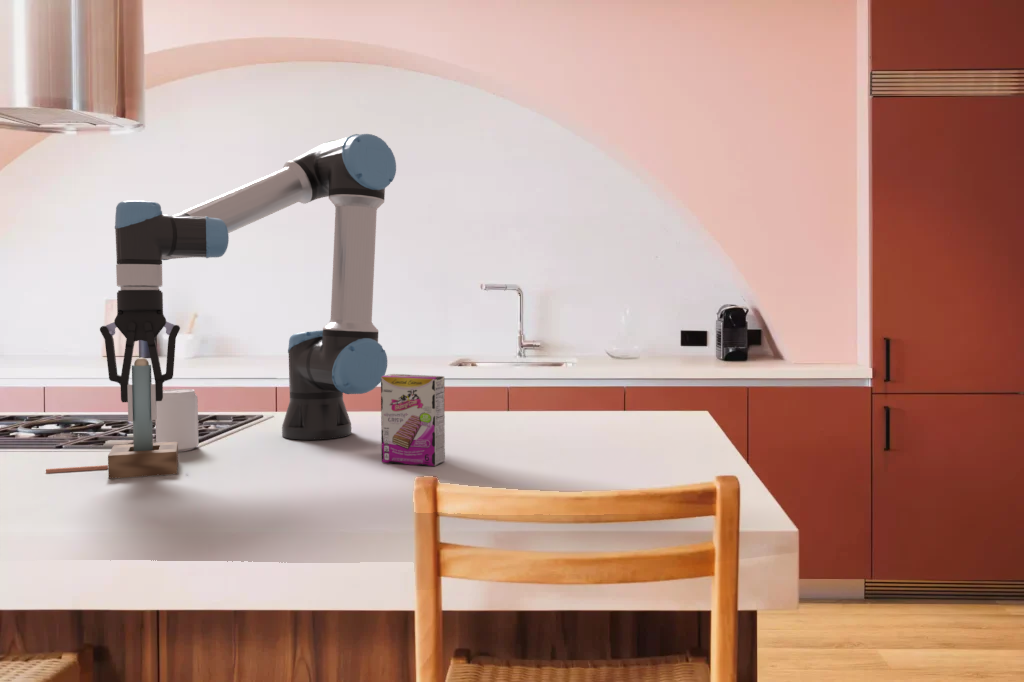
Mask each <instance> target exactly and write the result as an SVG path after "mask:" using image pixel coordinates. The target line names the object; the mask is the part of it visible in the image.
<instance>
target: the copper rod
mask: <svg viewBox="0 0 1024 682" xmlns="http://www.w3.org/2000/svg"><path fill="white" fill-rule="evenodd" d="M98 470H99V471H101V470H108V464H104V465H88V466H71V467H69V466H68V467H57V468H56V467H54V468H46V470H45V474H52V473H53V474H54V473H67V472H69V473H70V472H82V471H98Z"/></svg>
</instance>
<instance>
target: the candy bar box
mask: <svg viewBox="0 0 1024 682" xmlns="http://www.w3.org/2000/svg"><path fill="white" fill-rule="evenodd" d="M445 386H446V385H445V376H442V375H425V374H424V375H423V374H421V375H420V374H406V373H405V374H403V373H390V374H385V375H384V376H382V377H381V382H380V405H381V406H380V407H381V408H380V414H381V415H380V418H381V421H380V422H381V428H380V429H381V431H380V433H381V437H380V438H381V439H380V441H381V463H384V464H399V465H410V466H411V465H413V466H425V467H436V466H439V465H441V464H443V463H445V461H446V455H445V454H446V452H445V451H446V448H445V446H446V445H445V444H446V443H445V440H446V439H445V438H446V437H445V436H446V435H445V433H446V431H445V425H446V424H445V417H446V416H445V390H446V389H445Z"/></svg>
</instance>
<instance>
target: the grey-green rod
mask: <svg viewBox="0 0 1024 682" xmlns="http://www.w3.org/2000/svg"><path fill="white" fill-rule="evenodd" d="M133 363H134V364H131V383H132V390H133V421H132V426H133V427H132V430H133V431H132V434H133V436H132V441H133V443H132V444H133V446H134V451H148V450H153V443H154V441H153V439H154V438H153V437H154V436H153V421H151V384H152V383H153V382H152V364H150V363H149V360H148V359H146V358H145V357H138V358H136V359H135V360H134V362H133Z"/></svg>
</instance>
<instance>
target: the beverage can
mask: <svg viewBox="0 0 1024 682" xmlns="http://www.w3.org/2000/svg"><path fill="white" fill-rule="evenodd" d="M198 402H199V401H198V395H197V394H196V390H195V389H193V388H170V389H169V388H168V389H163V399H162V401H156V407H157V419H156V420H155V443H163V442H178V453H180V452H187V451H191V450H194V449H195V448H197V447H199V408H198Z"/></svg>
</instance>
